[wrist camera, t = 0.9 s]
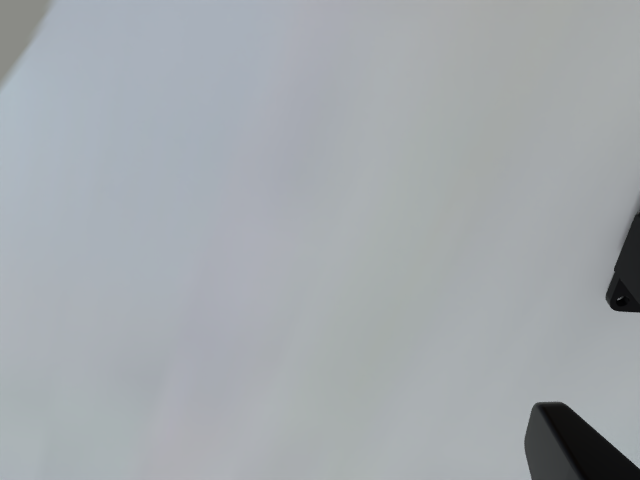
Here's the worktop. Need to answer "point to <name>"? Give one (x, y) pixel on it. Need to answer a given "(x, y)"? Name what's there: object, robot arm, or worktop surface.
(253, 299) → the worktop surface
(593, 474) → the robot arm
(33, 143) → the worktop surface
